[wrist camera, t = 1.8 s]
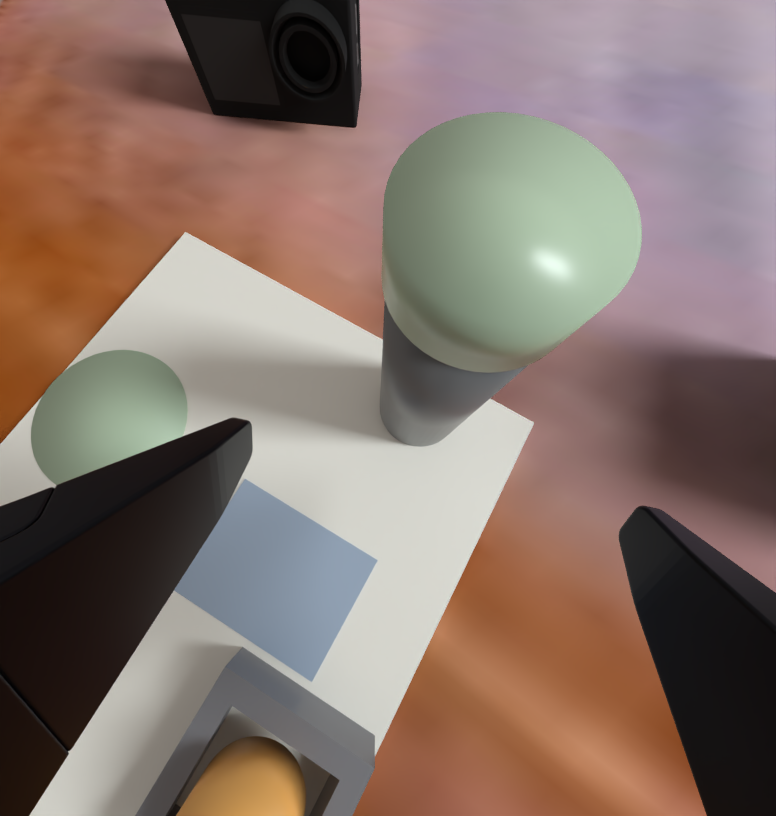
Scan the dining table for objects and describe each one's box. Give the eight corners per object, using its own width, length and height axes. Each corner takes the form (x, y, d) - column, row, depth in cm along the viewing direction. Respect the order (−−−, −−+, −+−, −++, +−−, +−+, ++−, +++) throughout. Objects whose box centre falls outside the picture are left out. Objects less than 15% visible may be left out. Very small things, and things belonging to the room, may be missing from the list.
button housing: (284, 921, 14) (270, 988, 12) (141, 815, 15) (107, 862, 13) (374, 735, 16) (374, 768, 14) (242, 646, 17) (225, 666, 15)
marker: (436, 464, 19) (583, 380, 6) (362, 421, 20) (332, 248, 6) (473, 393, 20) (676, 178, 7) (403, 354, 21) (457, 78, 7)
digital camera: (208, 128, 25) (146, -9, 18) (222, 72, 26) (170, -75, 20) (355, 142, 25) (347, 11, 18) (361, 85, 27) (357, -56, 20)
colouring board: (255, 995, 14) (249, 1019, 14) (-175, 661, 16) (-197, 668, 16) (529, 424, 20) (534, 422, 20) (190, 239, 23) (184, 231, 22)
